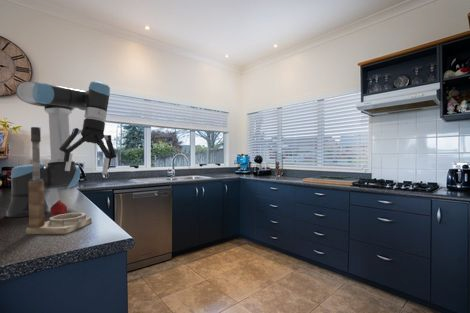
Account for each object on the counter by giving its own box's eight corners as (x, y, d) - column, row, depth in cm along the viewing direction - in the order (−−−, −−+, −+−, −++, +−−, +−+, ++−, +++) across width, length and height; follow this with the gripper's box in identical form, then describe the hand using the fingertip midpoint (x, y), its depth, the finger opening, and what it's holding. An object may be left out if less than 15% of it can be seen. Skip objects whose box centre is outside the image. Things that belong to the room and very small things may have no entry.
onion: (58, 220, 101) (58, 201, 101) (47, 219, 102) (46, 201, 102) (70, 216, 107) (70, 198, 107) (59, 216, 108) (59, 198, 108)
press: (57, 222, 97) (56, 131, 97) (91, 222, 97) (90, 130, 97) (26, 233, 83) (25, 126, 83) (65, 233, 83) (64, 126, 83)
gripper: (62, 110, 85) (52, 169, 83) (128, 126, 105) (122, 175, 103) (55, 112, 90) (45, 169, 88) (120, 128, 110) (113, 174, 107)
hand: (86, 172), depth 95 cm, fingers open, 13 cm apart
